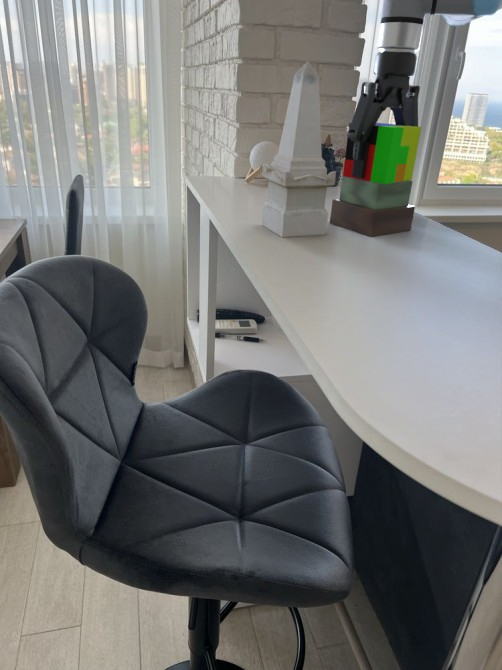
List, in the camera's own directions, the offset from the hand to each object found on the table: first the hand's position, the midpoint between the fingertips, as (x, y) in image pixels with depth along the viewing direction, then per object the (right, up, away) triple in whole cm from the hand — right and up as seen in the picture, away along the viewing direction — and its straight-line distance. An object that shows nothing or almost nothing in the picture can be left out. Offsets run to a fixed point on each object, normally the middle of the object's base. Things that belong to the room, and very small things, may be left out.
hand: (377, 176), depth 103 cm
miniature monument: (-17, -11, -1) cm, 21 cm away
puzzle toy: (0, -1, 0) cm, 1 cm away
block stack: (0, -9, +5) cm, 10 cm away
